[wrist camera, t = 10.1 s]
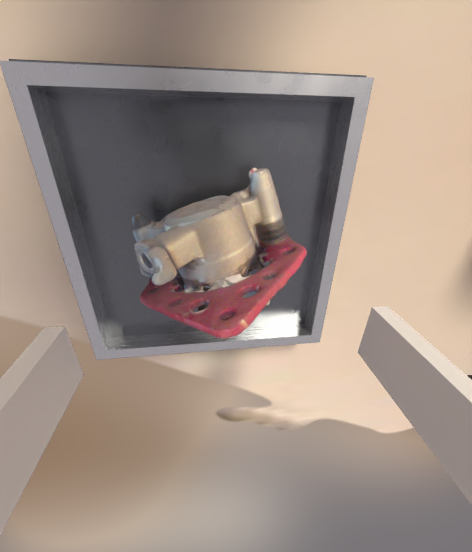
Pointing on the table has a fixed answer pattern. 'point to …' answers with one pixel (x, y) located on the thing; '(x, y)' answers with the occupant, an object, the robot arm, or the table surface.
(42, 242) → the table surface
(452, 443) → the robot arm
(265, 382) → the table surface
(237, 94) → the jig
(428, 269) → the table surface
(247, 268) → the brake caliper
